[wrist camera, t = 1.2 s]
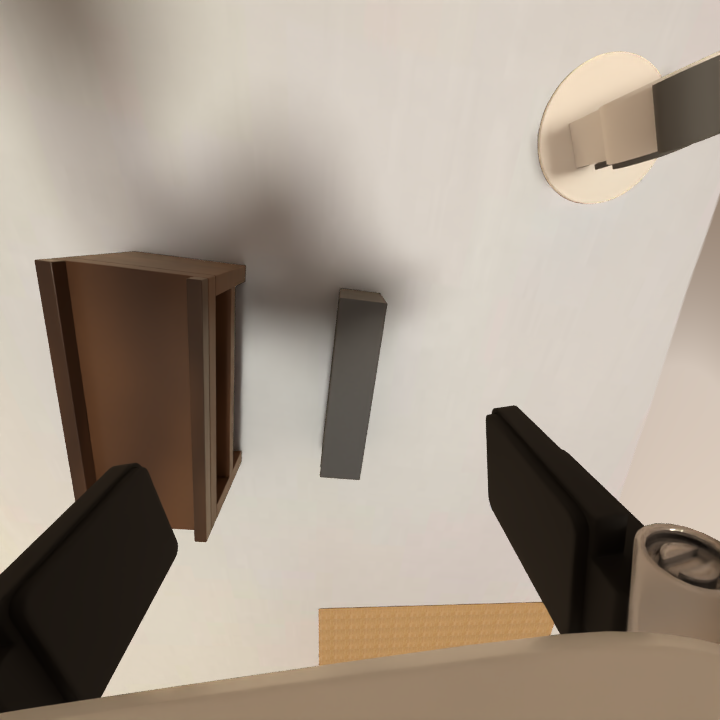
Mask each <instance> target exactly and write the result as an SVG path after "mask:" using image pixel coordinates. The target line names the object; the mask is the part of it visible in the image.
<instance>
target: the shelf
mask: <svg viewBox="0 0 720 720" xmlns="http://www.w3.org/2000/svg"><path fill="white" fill-rule="evenodd" d="M35 266H36V272H37V278H38V284H39V289H40V295H41V301H42V307H43V313H44V319H45V325H46V331H47V337H48V343H49V348H50V354H51V360H52V366H53V372H54V378H55V384H56V390H57V396H58V402H59V408H60V413H61V419H62V425H63V431H64V437H65V443H66V449H67V455H68V461H69V467H70V472H71V478H72V484H73V490H74V496H75V502H76V501H77V500H78V499H79V498H80V497H81V496H82V495H83V494H84V493H85V492H86V491H87V490H88V489H89V488H90V487H91V486H92V485H93V484H94V483H95V482H96V481H97V480H98V479H99V478H100V477H101V476H102V475H103V474H104V473H105V472H106V471H107V470H108V469H110V468H111V467H112V466H117V465H123V464H130V463H138V464H140V465H141V466H142V467H145V468H146V469H147V470H148V472H149V474H150V477H151V479H152V482H153V484H154V487H155V489H156V491H157V494H158V496H159V499H160V501H161V504H162V506H163V508H164V511H165V513H166V516H167V518H168V521H169V523H170V525H171V528H172V529H187V530H194V535H195V542H206V541H207V539H208V537H209V535H210V532H211V530H212V528H213V526H214V523H215V521H216V519H217V517H218V514H219V512H220V510H221V507H222V505H223V503H224V501H225V498H226V496H227V494H228V491H229V489H230V487H231V484H232V482H233V480H234V478H235V475H236V473H237V471H238V468H239V466H240V464H241V453H242V451H235V450H233V421H234V346H235V286H237V285H239V284H241V283H243V282H245V274H246V266H245V265H238V264H231V263H223V262H215V261H207V260H199V259H191V258H183V257H176V256H168V255H160V254H152V253H144V252H136V251H132V252H121V253H109V254H97V255H86V256H74V257H63V258H52V259H39V260H35Z"/></svg>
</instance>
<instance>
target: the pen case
mask: <svg viewBox="0 0 720 720" xmlns="http://www.w3.org/2000/svg"><path fill="white" fill-rule="evenodd" d="M386 309H387V302H386V301H385V299H384V298H383V296H382V295H381V293H376V292H368V291H360V290H352V289H344V288H340V293H339V302H338V311H337V320H336V329H335V338H334V347H333V356H332V365H331V374H330V383H329V392H328V401H327V410H326V419H325V428H324V437H323V446H322V456H321V465H320V467H321V470H320V477H325V478H339V479H353V480H360V474H361V468H362V462H363V455H364V449H365V442H366V436H367V430H368V423H369V417H370V411H371V404H372V398H373V392H374V385H375V379H376V373H377V366H378V360H379V354H380V347H381V341H382V334H383V328H384V322H385V315H386Z"/></svg>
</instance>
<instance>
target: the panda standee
mask: <svg viewBox="0 0 720 720" xmlns="http://www.w3.org/2000/svg"><path fill="white" fill-rule="evenodd" d="M717 134H720V51H719V52H716V53H714V54H712V55H710V56H708V57H705V58H703V59H701V60H699V61H697V62H694V63H692V64H690V65H688V66H686V67H684V68H681V69H679V70H677V71H675V72H673V73H671V74H668V75H666V76H664V77H662V76H661V75H660V73H659V72H658V70H657V69H656V68H655V67H654V66H653V65H652V64H651V63H650V62H649V61H647V60H646V59H645V58H643V57H641V56H639V55H636V54H633V53H629V52H610V53H605V54H602V55H599V56H596V57H594V58H592V59H590V60H588V61H586V62H585V63H583V64H582V65H580V66H579V67H578V68H576V69H575V70H574V71H573V72H571V73H570V74H569V75H568V76H567V77H566V78H565V79H564V80H563V81H562V83H561V84H560V85H559V86H558V88H557V89H556V91H555V92H554V94H553V95H552V97H551V99H550V101H549V102H548V105H547V107H546V109H545V112H544V114H543V117H542V121H541V124H540V129H539V136H538V155H539V161H540V165H541V169H542V171H543V174H544V176H545V178H546V180H547V181H548V183H549V184H550V186H551V187H552V188H553V189H554V190H555V191H556V192H557V193H558V194H559V195H561V196H562V197H564V198H566V199H568V200H570V201H573V202H576V203H582V204H594V203H601V202H605V201H609V200H611V199H614V198H616V197H618V196H620V195H622V194H624V193H625V192H627V191H628V190H630V189H631V188H632V187H633V186H635V185H636V184H637V183H638V182H639V181H640V180H641V179H642V178H643V177H644V176H645V175H646V173H647V172H648V171H649V170H650V168H651V167H652V165H653V164H654V162H655V161H656V159H657V158H658V157H661V156H664V155H667V154H669V153H672V152H675V151H677V150H680V149H682V148H685V147H687V146H689V145H691V144H693V143H696V142H699V141H702V140H705V139H707V138H710V137H712V136H715V135H717Z"/></svg>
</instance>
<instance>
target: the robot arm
mask: <svg viewBox="0 0 720 720" xmlns="http://www.w3.org/2000/svg"><path fill="white" fill-rule="evenodd" d="M486 439H487V469H488V496H489V502H490V505H491V508H492V510H493V512H494V514H495V516H496V517H497V519H498V521H499V523H500V525H501V527H502V528H503V530H504V532H505V534H506V536H507V538H508V539H509V541H510V543H511V545H512V547H513V549H514V550H515V552H516V554H517V556H518V558H519V560H520V561H521V563H522V565H523V567H524V569H525V571H526V572H527V574H528V576H529V578H530V580H531V582H532V583H533V585H534V587H535V589H536V591H537V593H538V594H539V596H540V598H541V600H542V602H543V604H544V605H545V607H546V609H547V611H548V613H549V615H550V616H551V618H552V620H553V622H554V624H555V626H556V627H557V629H558V631H559V633H560V634H558V635H549V636H541V637H533V638H524V639H516V640H507V641H499V642H490V643H482V644H473V645H465V646H458V647H451V648H443V649H436V650H429V651H422V652H415V653H407V654H400V655H393V656H386V657H378V658H371V659H364V660H357V661H349V662H342V663H335V664H328V665H321V666H314V667H307V668H300V669H293V670H286V671H279V672H272V673H265V674H258V675H251V676H244V677H237V678H230V679H223V680H217V681H210V682H203V683H196V684H189V685H182V686H175V687H168V688H162V689H155V690H148V691H142V692H135V693H128V694H122V695H115V696H109V697H102V698H101V696H102V694H103V692H104V690H105V689H106V687H107V685H108V683H109V681H110V679H111V677H112V675H113V674H114V672H115V670H116V668H117V666H118V664H119V662H120V660H121V659H122V657H123V655H124V653H125V651H126V649H127V647H128V645H129V644H130V642H131V640H132V638H133V636H134V634H135V632H136V631H137V629H138V627H139V625H140V623H141V621H142V619H143V617H144V616H145V614H146V612H147V610H148V608H149V606H150V604H151V602H152V601H153V599H154V597H155V595H156V593H157V591H158V589H159V587H160V586H161V584H162V582H163V580H164V578H165V576H166V574H167V572H168V571H169V569H170V567H171V565H172V563H173V561H174V559H175V557H176V555H177V551H178V543H177V540H176V538H175V535H174V533H173V530H172V528H171V525H170V523H169V521H168V518H167V516H166V513H165V511H164V508H163V506H162V504H161V501H160V499H159V496H158V494H157V491H156V489H155V487H154V484H153V482H152V479H151V477H150V474H149V472H148V470H147V469H146V468H145V467H142V466H141V465H140V464H138V463H130V464H123V465H117V466H112V467H111V468H110V469H108V470H107V471H106V472H105V473H104V474H103V475H102V476H101V477H100V478H99V479H98V480H97V481H96V482H95V483H94V484H93V485H92V486H91V487H90V488H89V489H88V490H87V491H86V492H85V493H84V494H83V495H82V496H81V497H80V498H79V499H78V500H77V501H76V502H75V503H73V504H72V505H71V506H70V507H69V508H68V509H67V510H66V511H65V512H64V513H63V514H62V515H61V516H60V517H59V518H58V519H57V520H56V521H55V522H54V523H53V524H52V525H51V526H50V527H49V528H48V529H47V530H46V531H45V532H44V533H43V534H42V535H41V536H39V537H38V538H37V539H36V540H35V541H34V542H33V543H32V544H31V545H30V546H29V547H28V548H27V549H26V550H25V551H24V552H23V553H22V554H21V555H20V556H19V557H18V558H17V559H16V560H15V561H14V562H13V563H12V564H11V565H10V566H9V567H8V568H7V569H6V570H4V571H3V572H2V573H1V574H0V720H720V542H719V541H718V540H716V539H713V538H712V537H710V536H708V535H706V534H704V533H702V532H699V531H696V530H693V529H691V528H688V527H684V526H679V525H674V524H661V523H658V524H657V523H655V524H651V525H647V526H644V525H643V524H642V523H641V522H640V521H639V520H637V519H636V518H635V517H634V516H633V515H632V514H631V513H630V512H629V511H628V510H627V509H626V508H625V507H624V506H623V505H622V504H621V503H620V502H619V501H618V500H617V499H616V498H615V497H614V496H612V495H611V494H610V493H609V492H608V491H607V490H606V489H605V488H604V487H603V486H602V485H601V484H600V483H599V482H598V481H597V480H596V479H595V478H594V477H593V476H592V475H590V474H589V473H588V472H587V471H586V470H585V469H584V468H583V467H582V466H581V465H580V464H579V463H578V462H577V461H576V460H575V459H574V458H573V457H572V456H571V455H570V454H569V453H567V452H566V451H564V450H561V449H560V448H559V447H558V446H557V445H556V444H555V443H554V442H553V441H552V440H551V439H550V438H549V437H548V436H547V435H546V434H545V433H544V432H543V431H542V430H541V429H540V428H539V427H538V426H537V425H536V424H535V423H534V422H533V421H532V420H530V419H529V418H528V417H527V416H526V415H525V414H524V413H523V412H522V411H521V410H520V409H519V408H518V407H517V406H507V407H501V408H494V409H493V410H492V414H490V415H487V416H486Z"/></svg>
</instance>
